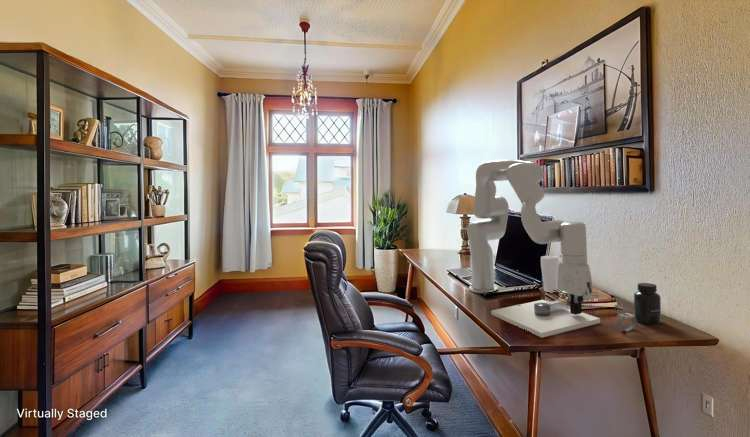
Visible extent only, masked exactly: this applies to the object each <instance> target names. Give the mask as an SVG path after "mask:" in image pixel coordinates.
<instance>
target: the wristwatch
mask: <svg viewBox="0 0 750 437" xmlns="http://www.w3.org/2000/svg"><path fill="white" fill-rule="evenodd" d="M617 316H618V319H617V321H616V322H617V323H616V325H617V328H618V329H619V330H621V331H622V332H626V333H628V332H631V331H633V330H634V328H636V326H637V321H636V318H635V315H634V314H632V313H629V312H623V313H620V314H618V315H617ZM624 319H625V320H628V319H631V324H630V325H629V327H628V328H625V329H624V328H623V327H622V323H623V321H624Z"/></svg>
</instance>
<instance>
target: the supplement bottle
mask: <svg viewBox="0 0 750 437" xmlns="http://www.w3.org/2000/svg"><path fill="white" fill-rule="evenodd" d="M657 292H658V290H657V284H655V283H649V282H639V283H637V291H635V292H634V294H633V315H635V318H636V323H640V324H643V325H644V324H646V325H650V326H651V325H652V326H653V325H660V323H661V321H662V320H661V318H662V314H661V311H662V310H661V308H662V306H661V305H662V301H661V300H662V299H661V295H660V294H659V293H657Z"/></svg>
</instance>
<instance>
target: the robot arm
mask: <svg viewBox="0 0 750 437" xmlns="http://www.w3.org/2000/svg"><path fill="white" fill-rule="evenodd" d="M544 175H545V173H544V169H543V167H542V165H540V164H539V163H537V162H536V161H534V162H533V161H526V160H519V159H498V160H497V159H495V160H488V161H487V160H485V161H484V162H482V163H480V164H479V165H478V166H477V169H476V171H475V193H474V202H473V207H472V208H473V215H474V217H475V218H477V219H481V220H476V221H472V222H470V223H469V224H468V226H467V227H466V233H467V238H468V243H469V248H470V250H469V251H470V263H471V264H470V265H471V278H470V279H469V280H468V281H469V283H471V285H469V287H468V290H469V291H470V292H472V293H475V294H484V293H483V292H489V291H494V290H497V289H498V290H499V287H498V285H495V274H494V257H493V254H494V253H493V249H492V247H491V245H490V243H489V241H495V240H499V239H501V238H503V237H504V235H505V233H506V230H507V224H508V218H509V210H510V206H509V202H508V200H507V199H506V198H505V197H503V196H502V195H497V186H496V183H495V182H503V181H508V183H509V185H510V186H511V188H512V189H513V190H514V193H515V194H516V196H517V197H518V200H519V201H520V203H521V209H520V218H521V223H522V226H523V228H524V230H525V231H526V233H527V234H528V236H529V238H530V239H531V240H532V241H533V242H534V243H536V244H539V245H546V244H551V243H559V242H560V254H559V258H560V259H561V260H560V262H559V267H558V281H557V282H558V291H559V292H560V291H561V292H562V293H563V294H566V296H567V297H568V300H567V302H569V308H570V313H571V314H574V315H577V314H581V313H583V310H582V303H584V300H589V299H591V298H592V296H591V294H592V293H593V282H592V273H591V269H590V265H589V264H588V246H587V243H588V242H587V226H586V224H585V223H584V222H582V221H566V220H561V219H556V220H555V219H554V220H545V221H542V220H541V218H540V216H539V214H538V213H537V210H536V205H537V204H538V203H540V202H541V201H542V200H543V199H544V197H545V191H544V190H543V188H542V187H541V185H540V184H539V183H540V182H541V181H542V180H543V179H544ZM566 296H565V297H566Z"/></svg>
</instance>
